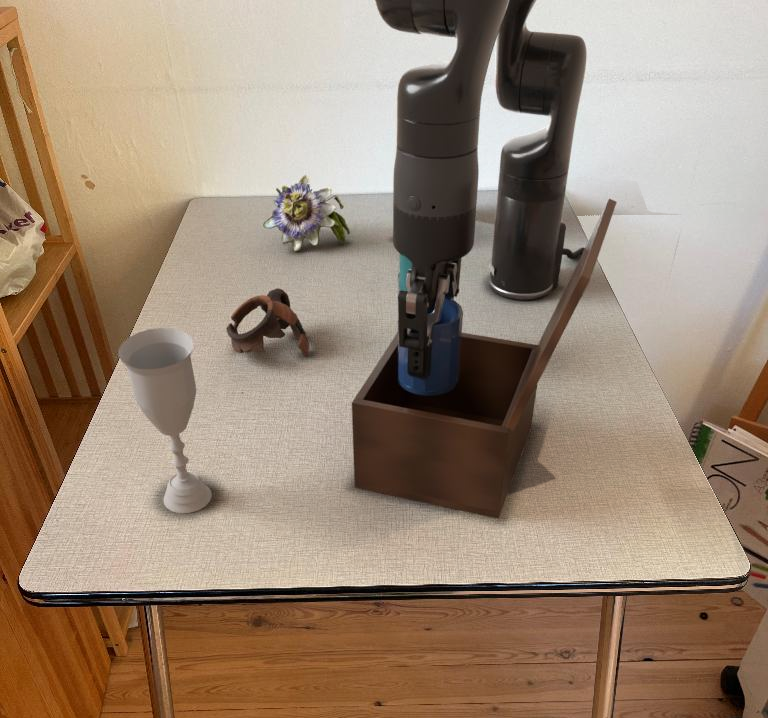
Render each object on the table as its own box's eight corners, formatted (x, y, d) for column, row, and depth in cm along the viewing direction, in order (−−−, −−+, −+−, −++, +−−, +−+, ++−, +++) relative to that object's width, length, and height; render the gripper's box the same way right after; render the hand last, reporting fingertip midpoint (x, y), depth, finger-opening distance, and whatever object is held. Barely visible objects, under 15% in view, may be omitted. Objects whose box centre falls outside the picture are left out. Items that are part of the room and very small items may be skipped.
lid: (581, 275, 67) (590, 279, 67) (609, 198, 79) (617, 201, 79) (505, 427, 78) (513, 430, 78) (539, 340, 90) (546, 343, 90)
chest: (354, 487, 90) (351, 402, 83) (402, 403, 102) (403, 322, 94) (498, 519, 86) (509, 433, 79) (531, 427, 98) (542, 345, 91)
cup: (439, 358, 91) (442, 290, 86) (469, 386, 87) (474, 317, 82) (387, 372, 89) (387, 303, 84) (415, 401, 85) (417, 331, 80)
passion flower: (301, 281, 138) (251, 227, 130) (310, 241, 144) (263, 188, 137) (355, 249, 132) (306, 191, 124) (362, 210, 138) (316, 152, 131)
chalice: (158, 477, 91) (124, 329, 79) (222, 473, 92) (196, 326, 80) (151, 522, 86) (112, 371, 74) (218, 518, 86) (190, 367, 74)
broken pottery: (310, 371, 108) (274, 329, 102) (251, 392, 112) (212, 352, 106) (320, 306, 114) (287, 262, 108) (264, 327, 118) (228, 286, 113)
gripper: (454, 234, 69) (444, 402, 80) (494, 174, 79) (481, 331, 91) (368, 222, 71) (371, 389, 82) (418, 165, 81) (414, 320, 92)
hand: (428, 358), depth 86 cm, fingers closed on cup, 6 cm apart
